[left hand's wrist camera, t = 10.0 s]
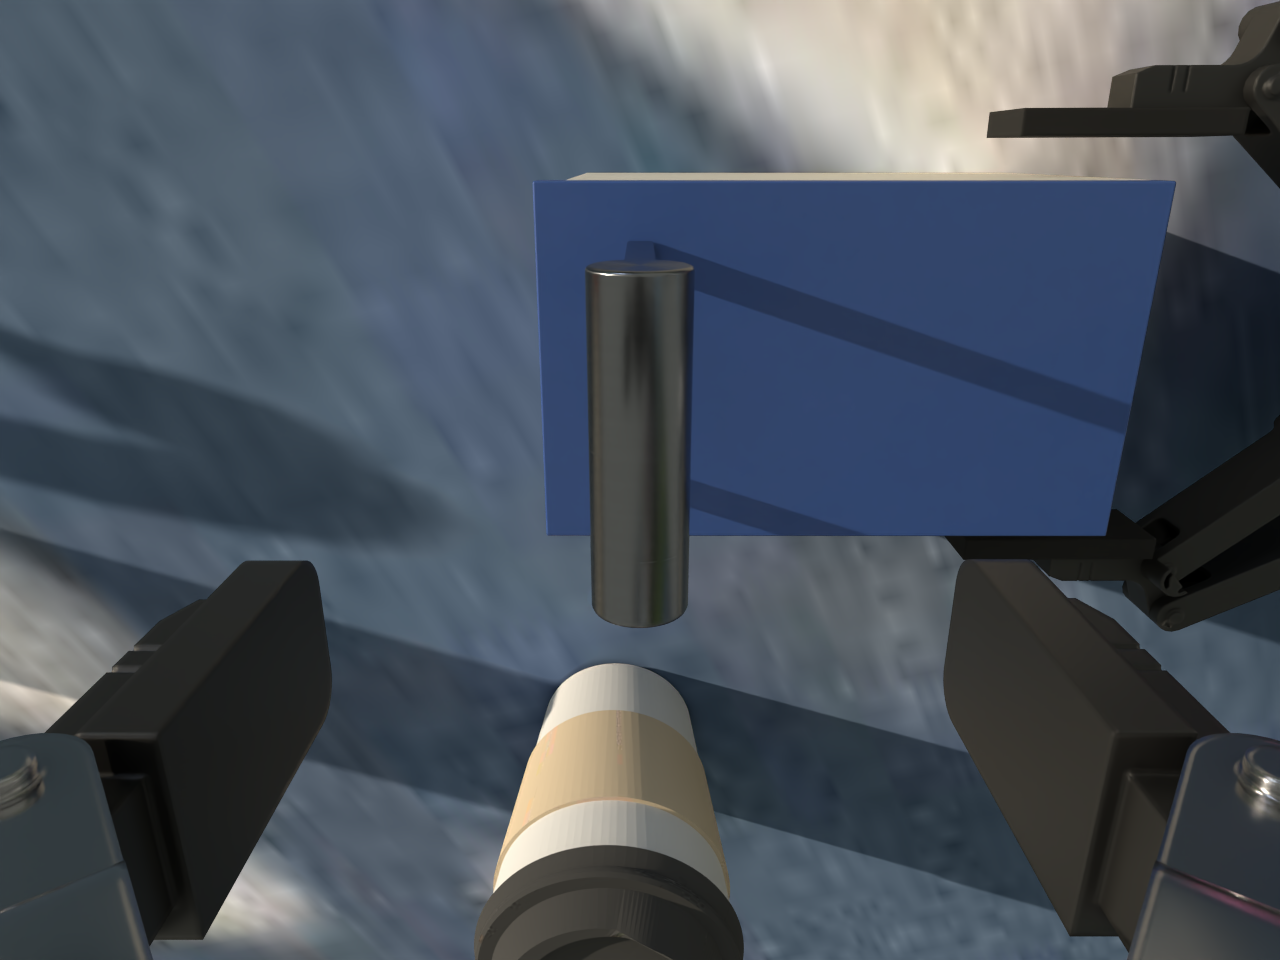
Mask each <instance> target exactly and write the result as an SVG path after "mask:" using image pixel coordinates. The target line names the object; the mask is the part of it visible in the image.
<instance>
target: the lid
mask: <svg viewBox="0 0 1280 960" xmlns="http://www.w3.org/2000/svg"><path fill="white" fill-rule="evenodd" d="M1175 186H1176V182H1175V181H1163V180H537V181H534V182H533V205H534V230H535V255H536V280H537V305H538V330H539V355H540V380H541V405H542V430H543V455H544V480H545V505H546V530H547V535H548V536H591V584H592V606H593V609H594V611H595V612H596V614H597V615H598V616H599V617H600V618H602V619H603V620H605V621H607V622H609V623H612V624H615V625H619V626H624V627H631V628H648V627H656V626H661V625H665V624H668V623H670V622H672V621H675V620H676V619H678V618H679V617H680V616H682V615H683V613H684V612H685V610H686V608H687V605H688V570H689V536H1105V535H1106V532H1107V527H1108V522H1109V517H1110V512H1111V507H1112V502H1113V497H1114V492H1115V487H1116V482H1117V477H1118V472H1119V467H1120V462H1121V457H1122V452H1123V447H1124V442H1125V437H1126V432H1127V427H1128V422H1129V417H1130V412H1131V407H1132V402H1133V397H1134V392H1135V387H1136V382H1137V377H1138V372H1139V367H1140V362H1141V357H1142V352H1143V347H1144V342H1145V337H1146V332H1147V327H1148V321H1149V316H1150V311H1151V306H1152V301H1153V296H1154V291H1155V286H1156V281H1157V276H1158V271H1159V266H1160V261H1161V256H1162V251H1163V246H1164V241H1165V236H1166V231H1167V226H1168V221H1169V216H1170V211H1171V206H1172V201H1173V196H1174V191H1175Z"/></svg>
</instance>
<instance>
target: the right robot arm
mask: <svg viewBox="0 0 1280 960" xmlns="http://www.w3.org/2000/svg"><path fill="white" fill-rule="evenodd" d="M1238 36H1239V39H1240V41H1239V43H1238V45H1237V47H1236V49H1235V51H1234V52H1233V54H1232V55H1231V57H1230V58H1229V59H1228V60H1227V61H1226V62H1224V63H1223V64H1221V65H1155V66H1149V67H1143V68H1137V69H1132V70H1128V71H1126V72H1123V73H1121V74H1119V75H1116V76H1114V77H1112V83H1111V89H1110V95H1109V101H1108V107H1107V108H1022V109H1014V110H1005V111H997V112H990V115H989V123H988V131H987V138H1048V137H1200V136H1230V135H1233V137H1234V138H1235V139H1236V140H1237V141H1238V142H1239V143H1240V144H1241V146H1242V147H1243V148H1244V149H1245V150H1246V151H1247V152H1248V153H1249V154H1250V156H1251V157H1252V158H1253V159H1254V160H1255V161H1256V162H1257V163H1258V165H1259V166H1260V167H1261V168H1262V169H1263V170H1264V171H1265V172H1266V174H1267V175H1268V176H1269V177H1270V178H1271V179H1272V180H1273V181H1274V182H1275V184H1276V185H1277V186H1278V187H1279V188H1280V1H1279V2H1275V3H1271V4H1267V5H1262V6H1258V7H1255V8H1254V9H1252V10H1250V11H1249V12H1248V13H1247V14H1246V15H1245V16H1244V17H1243V18H1242V21H1241V23H1240V25H1239V31H1238ZM945 537H946V538H947V540H948V541H949V542H950V543H951V545H952V546H953V547H954V548H955V550H956V551H957V552H958V553H959V555H960V556H961V557H962V558H963V560H967V559H1028V560H1034V561H1035V562H1036V563H1037V564H1038V565H1039V566H1040V567H1041V568H1042V569H1043V570H1044V571H1045V572H1046V573H1047V574H1048V575H1049V576H1051V577H1053V578H1056V579H1059V580H1061V581H1077V580H1079V581H1088V580H1091V581H1124V580H1125V581H1124V584H1123V586H1122V588H1123V593H1124V595H1125V596H1126V597H1127V598H1128V599H1129V600H1130V601H1131V602H1132V603H1133V604H1135V605H1136V606H1137V607H1138V608H1139V609H1140V610H1141V611H1142V612H1143V613H1144V614H1146V615H1147V616H1148V617H1149V618H1150V619H1151V620H1152V621H1153V622H1154V623H1155V624H1157V625H1158V626H1159V627H1160V628H1161V629H1163V630H1165V631H1171V632H1172V631H1176V630H1180V629H1182V628H1185V627H1187V626H1190V625H1192V624H1195V623H1197V622H1200V621H1202V620H1205V619H1207V618H1210V617H1212V616H1215V615H1217V614H1220V613H1222V612H1225V611H1227V610H1230V609H1232V608H1235V607H1237V606H1240V605H1242V604H1245V603H1247V602H1250V601H1252V600H1255V599H1257V598H1260V597H1262V596H1265V595H1267V594H1270V593H1272V592H1275V591H1277V590H1280V415H1279V416H1278V417H1277V418H1276V419H1275V421H1274V429H1273V430H1272V431H1271V432H1269V433H1268V434H1266V435H1265V436H1263V437H1262V438H1260V439H1259V440H1258V441H1256V442H1255V443H1253V444H1252V445H1250V446H1249V447H1247V448H1246V449H1244V450H1243V451H1241V452H1240V453H1238V454H1237V455H1235V456H1234V457H1232V458H1231V459H1229V460H1228V461H1226V462H1225V463H1223V464H1222V465H1220V466H1219V467H1218V468H1216V469H1215V470H1213V471H1212V472H1210V473H1209V474H1207V475H1206V476H1204V477H1203V478H1201V479H1200V480H1198V481H1197V482H1195V483H1194V484H1192V485H1191V486H1189V487H1188V488H1186V489H1185V490H1183V491H1182V492H1180V493H1179V494H1178V495H1176V496H1175V497H1173V498H1172V499H1170V500H1169V501H1167V502H1166V503H1164V504H1163V505H1161V506H1160V507H1158V508H1157V509H1155V510H1154V511H1152V512H1151V513H1149V514H1148V515H1146V516H1145V517H1143V518H1142V519H1140V520H1139V521H1138V522H1136V523H1134V522H1133V521H1132V520H1130V519H1129V518H1128V517H1126V516H1125V515H1124V514H1122V513H1121V512H1120V511H1118V510H1117V509H1111V512H1110V517H1109V522H1108V527H1107V532H1106V535H1105V536H945Z"/></svg>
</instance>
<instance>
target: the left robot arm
mask: <svg viewBox="0 0 1280 960" xmlns="http://www.w3.org/2000/svg"><path fill="white" fill-rule="evenodd" d="M1139 645H1140V644H1139V643H1138V642H1137V641H1136V640H1135V639H1134V638H1133V637H1132V636H1131V635H1130V634H1129V633H1128V632H1127V631H1126V630H1125V629H1124V628H1123V627H1121V626H1120V625H1119V624H1118V623H1117V622H1116V621H1115V620H1114V619H1113V618H1111V617H1109V616H1107V615H1105V614H1103V613H1102V612H1100V611H1098V610H1096V609H1094V608H1092V607H1091V606H1089V605H1087V604H1085V603H1083V602H1081V601H1080V600H1078V599H1076V598H1067V597H1066V596H1065V595H1064V594H1063V593H1062V592H1061V591H1060V590H1059V589H1058V587H1057V586H1056V585H1055V584H1054V583H1053V582H1052V581H1051V580H1050V579H1049V578H1048V577H1047V576H1046V575H1045V574H1044V573H1043V572H1042V571H1041V570H1040V569H1039V568H1038V567H1037V566H1036V565H1035V564H1034V563H1033V562H1032V561H1030V560H1028V559H967V560H965V561H964V562H963V563H962V565H961V566H960V569H959V571H958V575H957V579H956V585H955V593H954V600H953V607H952V614H951V622H950V629H949V636H948V643H947V651H946V658H945V665H944V678H943V681H944V695H945V701H946V706H947V710H948V713H949V716H950V719H951V721H952V723H953V725H954V727H955V728H956V730H957V732H958V734H959V736H960V738H961V739H962V741H963V743H964V745H965V747H966V748H967V750H968V752H969V754H970V756H971V758H972V759H973V761H974V763H975V765H976V767H977V768H978V770H979V772H980V774H981V776H982V778H983V779H984V781H985V783H986V785H987V787H988V788H989V790H990V792H991V794H992V796H993V798H994V799H995V801H996V803H997V805H998V807H999V808H1000V810H1001V812H1002V814H1003V816H1004V818H1005V819H1006V821H1007V823H1008V825H1009V827H1010V828H1011V830H1012V832H1013V834H1014V836H1015V837H1016V839H1017V841H1018V843H1019V845H1020V847H1021V848H1022V850H1023V852H1024V854H1025V856H1026V857H1027V859H1028V861H1029V863H1030V865H1031V867H1032V868H1033V870H1034V872H1035V874H1036V876H1037V877H1038V879H1039V881H1040V883H1041V885H1042V887H1043V888H1044V890H1045V892H1046V894H1047V896H1048V897H1049V899H1050V901H1051V903H1052V905H1053V907H1054V908H1055V910H1056V912H1057V914H1058V916H1059V917H1060V919H1061V921H1062V923H1063V925H1064V927H1065V928H1066V930H1067V932H1068V934H1069V936H1119V938H1120V940H1121V941H1122V943H1123V944H1124V946H1125V948H1126V949H1127V951H1128V953H1129V954H1128V958H1127V960H1280V741H1278V740H1274V739H1271V738H1266V737H1261V736H1256V735H1250V734H1241V733H1230V732H1229V731H1228V730H1227V729H1226V728H1225V727H1224V726H1223V725H1222V724H1221V723H1220V722H1219V721H1218V720H1216V719H1215V718H1214V717H1213V716H1212V715H1211V714H1210V713H1209V712H1208V711H1207V710H1206V709H1205V708H1204V707H1203V706H1202V705H1201V704H1200V703H1199V702H1198V701H1197V700H1196V699H1195V698H1194V697H1193V696H1192V695H1191V694H1190V693H1189V692H1188V691H1187V690H1186V689H1185V688H1184V687H1183V686H1182V685H1181V684H1180V683H1179V682H1178V681H1177V680H1176V679H1175V678H1174V677H1173V676H1172V675H1171V674H1169V673H1168V672H1167V671H1162V670H1161V665H1160V664H1159V663H1158V662H1157V661H1156V660H1155V659H1154V658H1153V657H1152V656H1151V655H1150V654H1149V653H1148V652H1147V651H1146V650H1145V649H1140V647H1139ZM331 690H332V673H331V664H330V657H329V650H328V643H327V636H326V629H325V621H324V614H323V607H322V600H321V593H320V586H319V580H318V576H317V572H316V570H315V567H314V566H313V564H312V563H311V562H309V561H245V562H243V563H242V564H241V565H240V566H239V567H238V568H237V569H236V570H235V571H234V572H233V573H232V574H231V575H230V576H229V577H228V578H227V579H226V580H225V581H224V582H223V583H222V584H221V585H220V586H219V587H218V588H217V589H216V590H215V591H214V592H213V593H212V594H211V595H210V596H209V597H208V598H207V599H206V600H197V601H196V602H194V603H192V604H190V605H188V606H186V607H185V608H183V609H181V610H179V611H177V612H175V613H174V614H172V615H170V616H168V617H166V618H164V619H163V620H161V621H159V622H158V623H157V624H156V625H155V626H154V627H153V628H152V629H151V630H150V631H149V632H148V633H147V634H146V635H145V636H144V637H143V638H142V639H141V640H140V641H139V642H138V643H137V644H136V645H135V646H134V651H128V652H127V653H126V654H125V655H124V656H123V657H122V658H121V659H120V660H119V661H118V662H117V663H116V664H115V665H114V666H113V667H112V673H106V674H105V675H104V676H103V677H102V678H101V679H100V680H98V681H97V682H96V683H95V684H94V685H93V686H92V687H91V688H90V689H89V690H88V691H87V692H86V693H85V694H84V695H83V696H82V697H81V698H80V699H79V700H78V701H77V702H76V703H75V704H74V705H73V706H72V707H71V708H70V709H69V710H68V711H67V712H65V713H64V714H63V715H62V716H61V717H60V718H59V719H58V720H57V721H56V722H55V723H54V724H53V725H52V726H51V727H50V728H49V729H48V730H47V731H46V732H45V733H39V734H30V735H24V736H19V737H14V738H9V739H6V740H2V741H0V960H153V958H152V954H151V951H150V945H151V943H152V942H153V940H203V939H204V937H205V935H206V933H207V932H208V930H209V928H210V926H211V924H212V923H213V921H214V919H215V917H216V915H217V914H218V912H219V910H220V908H221V906H222V905H223V903H224V901H225V899H226V897H227V896H228V894H229V892H230V890H231V888H232V887H233V885H234V883H235V881H236V879H237V878H238V876H239V874H240V872H241V870H242V869H243V867H244V865H245V863H246V862H247V860H248V858H249V856H250V854H251V853H252V851H253V849H254V847H255V845H256V844H257V842H258V840H259V838H260V836H261V835H262V833H263V831H264V829H265V827H266V826H267V824H268V822H269V820H270V818H271V817H272V815H273V813H274V811H275V809H276V808H277V806H278V804H279V802H280V800H281V799H282V797H283V795H284V793H285V792H286V790H287V788H288V786H289V784H290V783H291V781H292V779H293V777H294V775H295V774H296V772H297V770H298V768H299V766H300V765H301V763H302V761H303V759H304V757H305V756H306V754H307V752H308V750H309V748H310V747H311V745H312V743H313V741H314V739H315V738H316V736H317V734H318V732H319V730H320V729H321V727H322V725H323V723H324V721H325V719H326V716H327V713H328V709H329V704H330V699H331Z"/></svg>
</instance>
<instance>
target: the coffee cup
mask: <svg viewBox="0 0 1280 960" xmlns="http://www.w3.org/2000/svg"><path fill="white" fill-rule="evenodd" d="M493 890H494V892H493V894H492V896H491V897H490V898H489V900H488V901H487V903H486V905H485V906H484V908H483V910H482V912H481V915H480V917H479V920H478V923H477V927H476V931H475V939H474V952H475V960H743V953H744V943H743V934H742V930H741V926H740V923H739V920H738V917H737V915H736V913H735V911H734V909H733V907H732V905H731V904H730V902H729V897H730V882H729V876H728V871H727V867H726V862H725V858H724V854H723V849H722V845H721V841H720V836H719V832H718V828H717V823H716V819H715V815H714V810H713V806H712V802H711V797H710V793H709V789H708V784H707V780H706V776H705V771H704V768H703V765H702V762H701V760H700V758H699V756H698V753H697V748H696V743H695V739H694V734H693V729H692V725H691V720H690V716H689V712H688V709H687V706H686V704H685V702H684V700H683V698H682V697H681V695H680V694H679V692H678V691H677V690H676V689H675V688H674V687H673V686H672V685H671V684H670V683H669V682H668V681H667V680H665V679H664V678H662V677H661V676H659V675H658V674H656V673H654V672H652V671H650V670H647V669H645V668H642V667H638V666H634V665H629V664H619V663H612V664H602V665H597V666H593V667H590V668H587V669H584V670H582V671H580V672H578V673H576V674H574V675H573V676H571V677H570V678H568V679H567V680H566V681H565V682H563V683H562V684H561V685H560V687H559V688H558V689H557V690H556V691H555V693H554V694H553V696H552V698H551V700H550V702H549V704H548V707H547V711H546V714H545V718H544V721H543V724H542V728H541V731H540V735H539V738H538V742H537V745H536V747H535V748H534V750H533V752H532V754H531V756H530V758H529V761H528V764H527V767H526V770H525V774H524V777H523V780H522V784H521V787H520V790H519V794H518V797H517V800H516V804H515V807H514V810H513V814H512V817H511V820H510V824H509V827H508V830H507V833H506V837H505V840H504V843H503V847H502V850H501V853H500V857H499V860H498V863H497V867H496V870H495V875H494V885H493Z"/></svg>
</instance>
